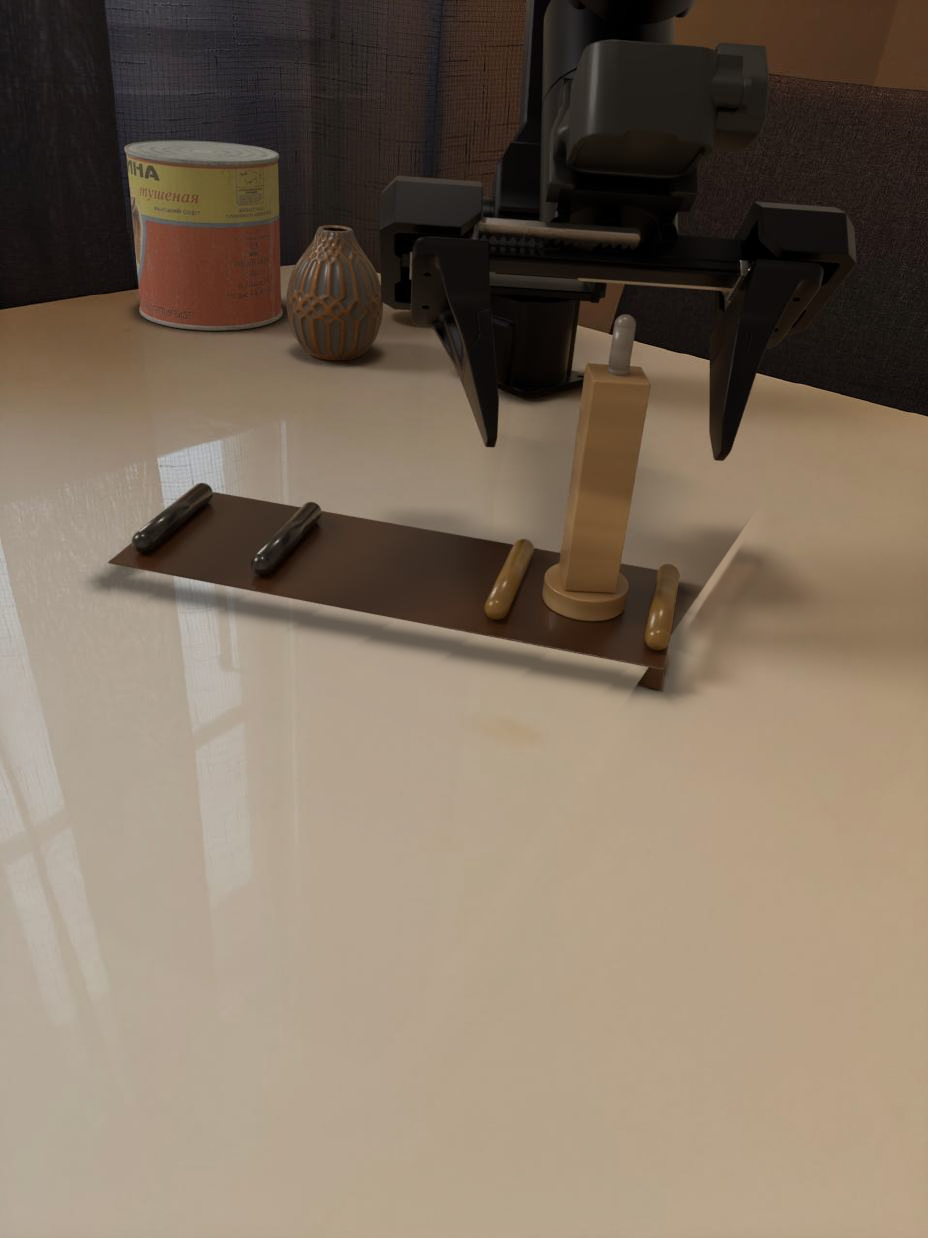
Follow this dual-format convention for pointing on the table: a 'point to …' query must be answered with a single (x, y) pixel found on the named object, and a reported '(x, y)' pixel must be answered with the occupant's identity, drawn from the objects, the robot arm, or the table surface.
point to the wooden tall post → (601, 486)
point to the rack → (398, 574)
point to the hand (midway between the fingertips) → (607, 450)
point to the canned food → (206, 233)
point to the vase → (334, 297)
